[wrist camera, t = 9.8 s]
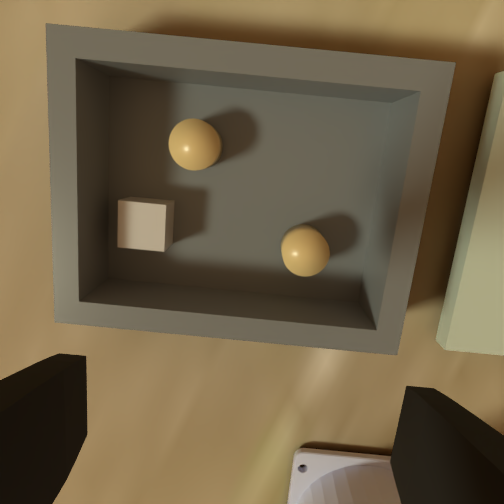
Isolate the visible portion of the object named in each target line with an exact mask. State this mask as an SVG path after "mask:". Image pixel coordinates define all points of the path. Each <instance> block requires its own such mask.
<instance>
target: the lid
mask: <svg viewBox="0 0 504 504" xmlns="http://www.w3.org/2000/svg"><path fill="white" fill-rule="evenodd" d="M436 341H437V342H438V343H439V344H440V345H441V346H442V347H443V348H444V350H451V351H461V352H472V353H482V354H493V355H503V356H504V71H502V72H499V73H496V74H495V75H494V80H493V84H492V89H491V93H490V98H489V102H488V107H487V111H486V116H485V120H484V125H483V129H482V134H481V138H480V143H479V147H478V152H477V156H476V161H475V165H474V169H473V174H472V178H471V183H470V187H469V192H468V196H467V201H466V205H465V210H464V214H463V219H462V223H461V228H460V232H459V237H458V241H457V246H456V250H455V255H454V259H453V264H452V268H451V273H450V277H449V282H448V286H447V291H446V295H445V300H444V304H443V309H442V313H441V318H440V322H439V327H438V331H437V336H436Z"/></svg>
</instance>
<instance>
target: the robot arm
mask: <svg viewBox="0 0 504 504" xmlns="http://www.w3.org/2000/svg"><path fill="white" fill-rule="evenodd" d="M86 436H87V376H86V356H81V355H70V354H56V355H54V356H51V357H49V358H46V359H44V360H42V361H40V362H37V363H35V364H33V365H31V366H29V367H27V368H25V369H23V370H21V371H19V372H16V373H14V374H12V375H10V376H8V377H6V378H4V379H2V380H0V504H52V503H53V502H54V500H55V498H56V497H57V495H58V493H59V492H60V490H61V488H62V487H63V485H64V483H65V481H66V480H67V478H68V476H69V474H70V471H71V469H72V467H73V465H74V463H75V461H76V459H77V456H78V454H79V452H80V450H81V447H82V445H83V443H84V441H85V438H86ZM302 464H304V465H306V466H304V467H300V465H302ZM287 504H504V435H502V434H501V433H499V432H498V431H496V430H495V429H494V428H492V427H491V426H489V425H488V424H486V423H485V422H484V421H482V420H481V419H479V418H478V417H477V416H475V415H474V414H472V413H471V412H469V411H468V410H467V409H465V408H464V407H462V406H461V405H459V404H458V403H456V402H455V401H453V400H452V399H450V398H449V397H447V396H446V395H444V394H442V393H441V392H439V391H437V390H436V389H434V388H424V387H413V386H406V390H405V395H404V400H403V404H402V409H401V413H400V418H399V423H398V427H397V432H396V436H395V441H394V446H393V450H392V455H391V456H383V455H373V454H362V453H352V452H342V451H331V450H321V449H311V448H300V449H298V450H297V451H296V452H295V454H294V459H293V466H292V473H291V480H290V487H289V494H288V501H287Z"/></svg>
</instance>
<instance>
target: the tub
mask: <svg viewBox="0 0 504 504" xmlns="http://www.w3.org/2000/svg"><path fill="white" fill-rule="evenodd" d="M46 52H47V86H48V119H49V153H50V186H51V219H52V253H53V286H54V319H55V322H56V323H67V324H77V325H87V326H98V327H108V328H119V329H129V330H139V331H150V332H160V333H170V334H181V335H191V336H201V337H212V338H222V339H233V340H243V341H253V342H264V343H274V344H284V345H295V346H305V347H315V348H326V349H336V350H347V351H357V352H367V353H378V354H388V355H397V354H398V349H399V344H400V339H401V334H402V329H403V324H404V319H405V314H406V309H407V304H408V299H409V294H410V289H411V284H412V279H413V274H414V269H415V264H416V259H417V254H418V249H419V244H420V239H421V234H422V229H423V224H424V219H425V214H426V209H427V204H428V199H429V195H430V190H431V185H432V180H433V175H434V170H435V165H436V160H437V155H438V150H439V145H440V140H441V135H442V130H443V125H444V120H445V115H446V110H447V105H448V100H449V95H450V90H451V85H452V80H453V75H454V70H455V65H456V62H445V61H435V60H425V59H414V58H404V57H393V56H383V55H372V54H362V53H351V52H341V51H330V50H320V49H309V48H299V47H289V46H278V45H268V44H257V43H247V42H236V41H226V40H215V39H205V38H194V37H184V36H173V35H163V34H153V33H142V32H132V31H121V30H111V29H100V28H90V27H79V26H69V25H58V24H48V23H46Z"/></svg>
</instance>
